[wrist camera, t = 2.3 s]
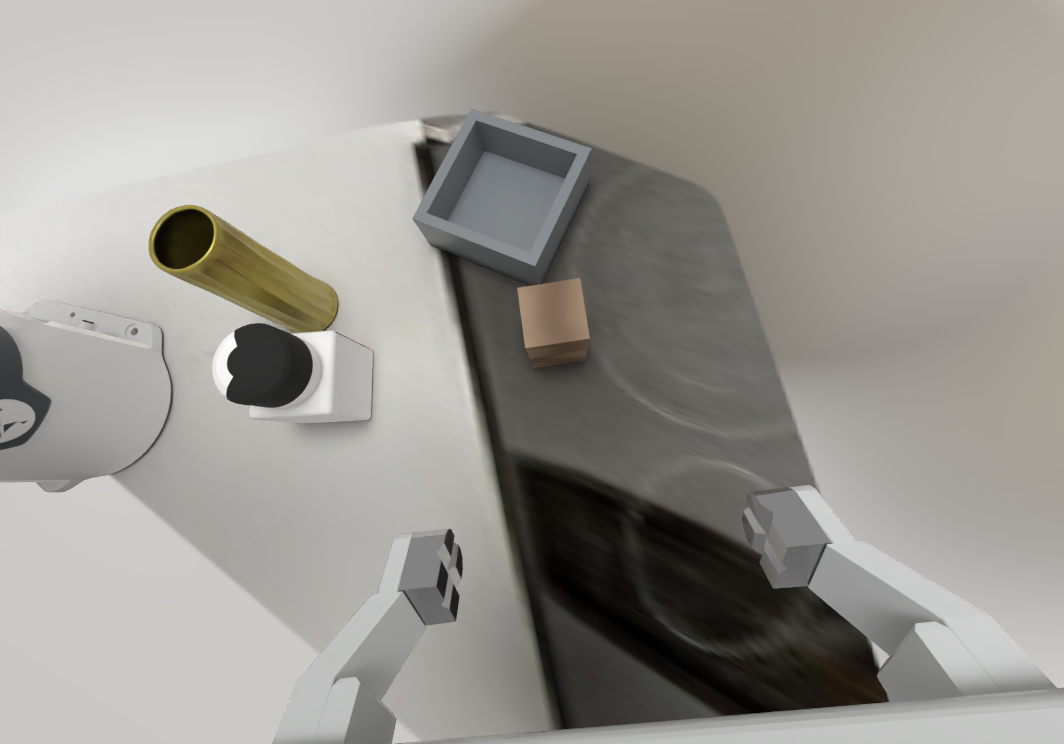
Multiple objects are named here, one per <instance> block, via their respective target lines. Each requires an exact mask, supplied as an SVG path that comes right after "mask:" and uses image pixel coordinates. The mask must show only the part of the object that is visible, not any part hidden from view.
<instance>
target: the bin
mask: <svg viewBox="0 0 1064 744" xmlns="http://www.w3.org/2000/svg"><path fill="white" fill-rule="evenodd" d="M591 149H592V148H589V147H585V146H582V145H579V144H576V143H573V142H570V141H567V140H564V139H561V138H558V137H555V136H552V135H549V134H546V133H543V132H540V131H537V130H534V129H531V128H528V127H525V126H522V125H519V124H516V123H513V122H510V121H507V120H504V119H501V118H498V117H495V116H492V115H489V114H486V113H483V112H480V111H477V110H474V109H471V110H470V112H469V114H468V116H467V118H466V120H465V122H464V123H463V125H462V127H461V129H460V131H459V133H458V135H457V136H456V138H455V140H454V142H453V144H452V146H451V148H450V149H449V151H448V153H447V155H446V157H445V159H444V161H443V163H442V164H441V166H440V168H439V170H438V172H437V174H436V176H435V177H434V179H433V181H432V183H431V185H430V187H429V189H428V190H427V192H426V194H425V196H424V198H423V200H422V202H421V203H420V205H419V207H418V209H417V211H416V213H415V215H414V216H413V218H412V219H413V220H414V222H415V223H416V225H417V226H418V227H419V229H420V230H421V232H422V233H423V235H424V236H425V238H426V239H427V241H428V242H429V244H430V245H431V246H434V247H436V248H439V249H441V250H444V251H446V252H449V253H451V254H454V255H456V256H459V257H461V258H464V259H466V260H469V261H471V262H474V263H476V264H479V265H481V266H484V267H486V268H489V269H491V270H494V271H496V272H499V273H501V274H504V275H506V276H509V277H511V278H514V279H516V280H519V281H521V282H524V283H526V284H529V285H531V286H533V285H539V284H541V283H542V281H543V279H544V277H545V275H546V273H547V271H548V269H549V266H550V264H551V262H552V260H553V258H554V256H555V254H556V252H557V250H558V247H559V245H560V243H561V241H562V239H563V237H564V235H565V233H566V231H567V228H568V226H569V224H570V222H571V220H572V218H573V216H574V214H575V212H576V209H577V207H578V205H579V203H580V201H581V199H582V197H583V195H584V193H585V190H586V188H587V186H588V184H589V174H590V162H591Z"/></svg>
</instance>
